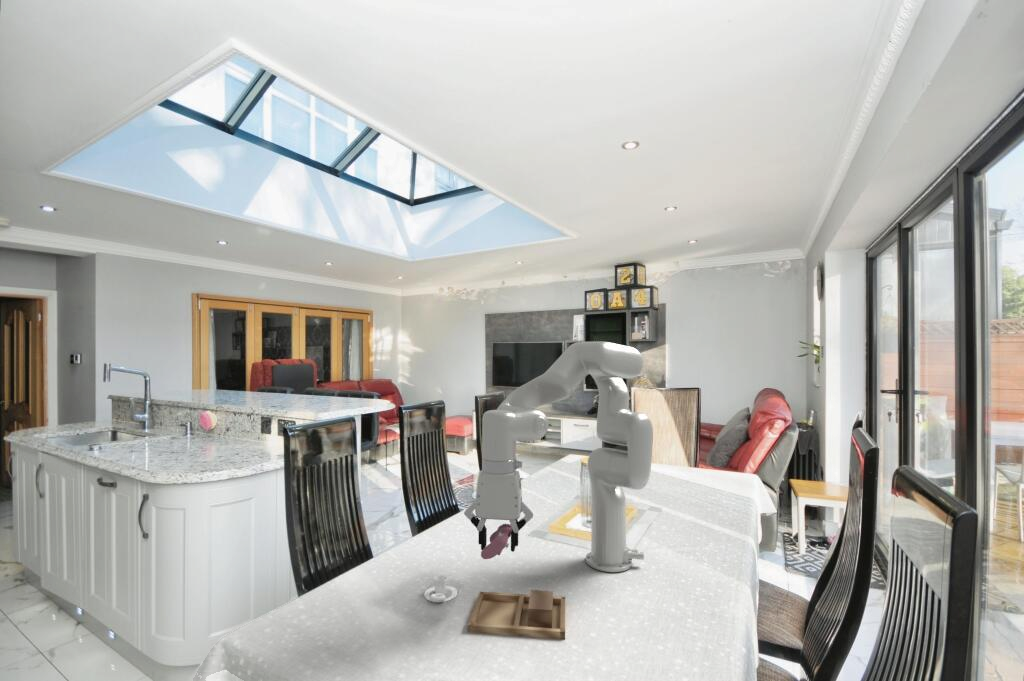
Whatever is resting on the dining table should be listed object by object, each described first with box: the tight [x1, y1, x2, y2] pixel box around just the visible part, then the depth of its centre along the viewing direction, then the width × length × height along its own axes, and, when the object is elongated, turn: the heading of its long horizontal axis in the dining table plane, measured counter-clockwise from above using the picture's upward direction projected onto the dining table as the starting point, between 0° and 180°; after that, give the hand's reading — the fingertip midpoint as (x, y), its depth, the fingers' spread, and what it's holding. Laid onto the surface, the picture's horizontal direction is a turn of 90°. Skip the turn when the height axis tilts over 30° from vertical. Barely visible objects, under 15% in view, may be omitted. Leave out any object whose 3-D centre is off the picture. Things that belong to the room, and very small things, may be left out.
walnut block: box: [528, 589, 554, 628], centre depth 102 cm, size 5×8×4 cm, turn 173°
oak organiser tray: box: [467, 591, 566, 640], centre depth 102 cm, size 20×14×2 cm
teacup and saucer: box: [423, 574, 459, 603], centre depth 113 cm, size 9×8×4 cm
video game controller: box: [480, 522, 512, 560], centre depth 103 cm, size 10×5×7 cm, turn 170°
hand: (498, 547), depth 103 cm, fingers closed on video game controller, 6 cm apart
